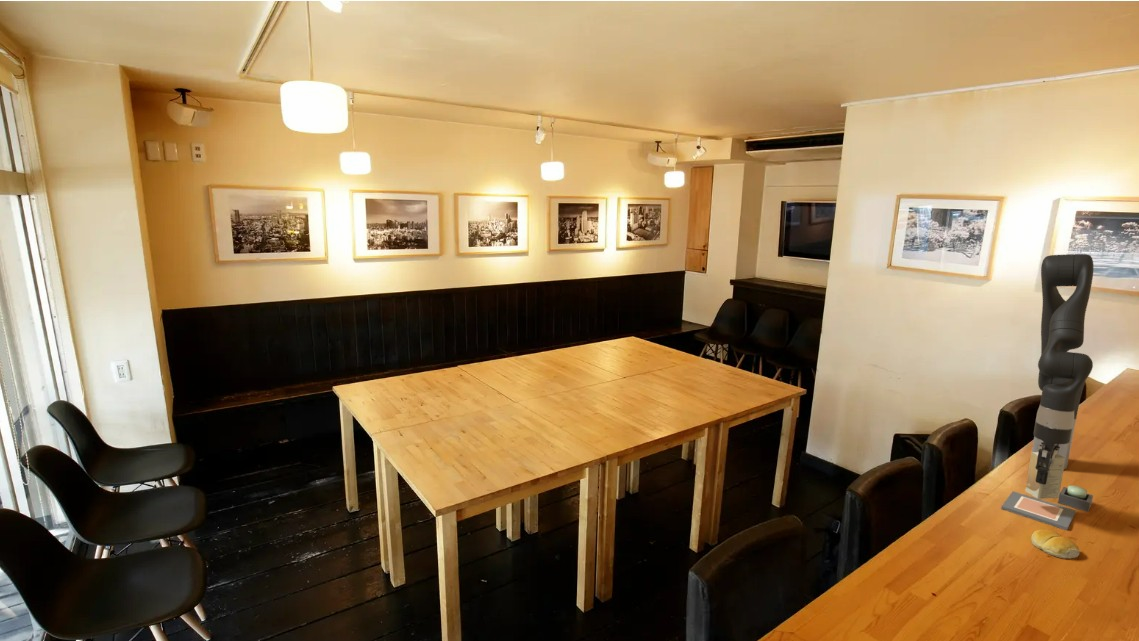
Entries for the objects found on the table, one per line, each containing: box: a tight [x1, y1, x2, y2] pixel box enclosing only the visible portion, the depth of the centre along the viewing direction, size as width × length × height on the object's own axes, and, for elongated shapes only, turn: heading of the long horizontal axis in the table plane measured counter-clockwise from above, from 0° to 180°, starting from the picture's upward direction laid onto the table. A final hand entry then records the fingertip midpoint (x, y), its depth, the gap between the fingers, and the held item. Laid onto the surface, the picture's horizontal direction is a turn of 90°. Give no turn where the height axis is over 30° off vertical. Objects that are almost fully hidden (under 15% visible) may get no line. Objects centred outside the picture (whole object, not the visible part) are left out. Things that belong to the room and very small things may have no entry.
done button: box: [1067, 484, 1088, 498], centre depth 155 cm, size 4×4×2 cm
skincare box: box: [1024, 451, 1066, 500], centre depth 150 cm, size 6×4×12 cm
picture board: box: [1000, 490, 1077, 531], centre depth 152 cm, size 13×14×1 cm
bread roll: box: [1030, 528, 1080, 560], centre depth 135 cm, size 8×9×4 cm
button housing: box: [1057, 486, 1094, 513], centre depth 156 cm, size 6×6×3 cm
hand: (1043, 478), depth 150 cm, fingers closed on skincare box, 7 cm apart
